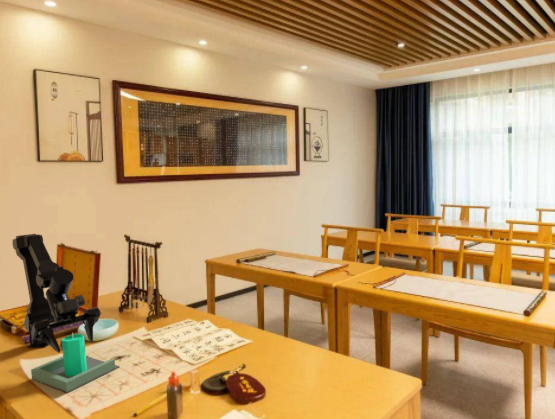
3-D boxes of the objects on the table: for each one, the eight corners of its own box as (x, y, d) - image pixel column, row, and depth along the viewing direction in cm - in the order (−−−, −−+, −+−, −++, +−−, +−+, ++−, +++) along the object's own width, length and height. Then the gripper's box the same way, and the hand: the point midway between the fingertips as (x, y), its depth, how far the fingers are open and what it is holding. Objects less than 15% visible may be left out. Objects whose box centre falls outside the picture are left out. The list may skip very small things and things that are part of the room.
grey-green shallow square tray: (84, 356, 140) (83, 347, 139) (119, 367, 131) (118, 357, 131) (31, 379, 125) (31, 369, 125) (67, 393, 116) (66, 382, 116)
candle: (72, 378, 124) (68, 337, 123) (60, 373, 127) (56, 334, 126) (91, 369, 129) (87, 330, 128) (79, 365, 132) (75, 327, 131)
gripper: (30, 295, 122) (46, 343, 115) (96, 281, 135) (114, 323, 128) (24, 316, 128) (39, 362, 121) (88, 301, 141) (105, 342, 135)
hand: (76, 347), depth 126 cm, fingers open, 9 cm apart
